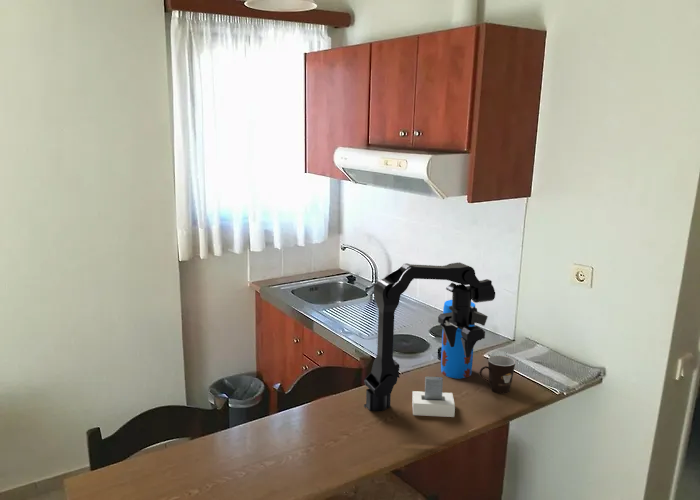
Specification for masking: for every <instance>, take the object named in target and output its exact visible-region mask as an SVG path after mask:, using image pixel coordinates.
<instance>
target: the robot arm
mask: <svg viewBox="0 0 700 500" xmlns="http://www.w3.org/2000/svg"><path fill="white" fill-rule="evenodd" d="M417 279H419V280H437V281H439V280H440V281H450V282H451V283H450V284H449V285H448V286H447V287H446V288H445V290H446V291H448V292H450V293H452V294H451V295H452V297H451V300H452V306H449V309H450V310H452V312H451V313H443V312H442V313H440V314H439V315H438V317H437V318H438V319H437V323H439V325H440V326H441V329H442V330H443V331H444V333H445V335H446V337H447V340H448V342H449V344H450V346H451V347H454V344H455V337H456V330H457V329H458V328H460V329H461V330H462V331H461V335H462V337H461V341H462V345H463V349H464V353H465V356H466V357H470V354H471V352H472V350H473V351H474V347H475V345H476V343H478V342H479V341H482V340H483V339H485V338H486V331H485V330H484V329H483V328H482V327H479V326H478V324H479V325H481V326H483V327H485V325H486V323H487V320H488V317H489V316H487V315H486V314H485V313H482V312H480V311H478V308H477V307H476V306H475V307H472V306H471V302H473V303H474V304H478V303H484V302H491V301H494V300H495V299H496V291H495V288H494V285H493V283H492V282H493V281H492V280H491V279H487V278H486V279H482V280H479V279H478V277H477V275H476V270H475V269H474V267H472V266H470V265H467V264H465V263H462V262H453V263H452V262H451V263H448V264H445V265H432V264H410V263H403V264H401V265H400V266H399V267H398V268H396V269H394V270H393V271H391V272H389V273H388V274H386V275H385V276H384V277H383V278H380V279H379V280H377V281H376V283H375V284H374V287H373V293H374V300H375V303H376V306H377V309H378V319H377V320H378V323H377V348H376V349H377V351H376V353H377V354H376V356H375V358H374V361H373V362H372V366H371V370H370V372H369V373H368V375H367V376H366V377H364V379H363V382H364V385H365V386H366V387H367V389H366V390H365V392H366V393H365V394H366V395H365V401H366V402H365V404H363V407H364V408H365V409H367V410H368V411H369V412H379V413H380V412H384V411H386V410H387V409H389V408H391V396H392V391H393V389H394V386H395V385H397V383H398V378H399V379H400V373H399V372H400V364H399V363H398V362H397V361H396V360H394V356H393V355H394V335H395V333H394V332H395V331H394V330H395V312H396V310H397V308H398V307H399V304H400V301H401V300H400V299H401V295H402V294H404V293H405V291H407V290H408V287H409V286H410V284H411V282H412V281H414V280H417ZM475 324H477V325H475ZM469 325H475V326H472V327H469Z"/></svg>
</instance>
